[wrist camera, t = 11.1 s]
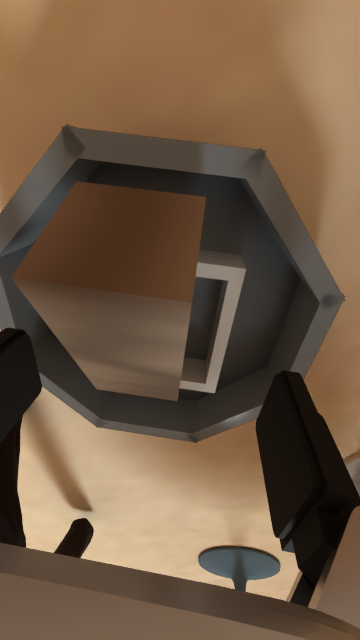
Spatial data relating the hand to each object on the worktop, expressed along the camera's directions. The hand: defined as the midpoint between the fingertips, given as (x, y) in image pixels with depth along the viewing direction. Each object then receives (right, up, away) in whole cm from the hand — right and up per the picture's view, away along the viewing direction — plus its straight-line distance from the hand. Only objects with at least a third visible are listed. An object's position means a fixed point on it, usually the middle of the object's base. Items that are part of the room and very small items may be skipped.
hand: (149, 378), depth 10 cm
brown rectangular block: (-1, 0, +4) cm, 4 cm away
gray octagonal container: (0, +3, +5) cm, 6 cm away
